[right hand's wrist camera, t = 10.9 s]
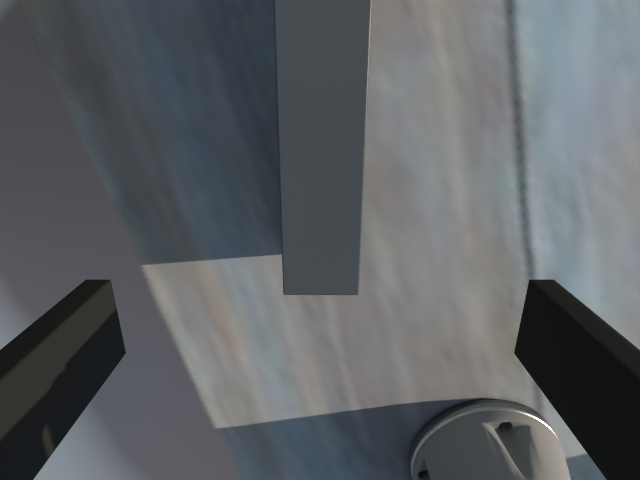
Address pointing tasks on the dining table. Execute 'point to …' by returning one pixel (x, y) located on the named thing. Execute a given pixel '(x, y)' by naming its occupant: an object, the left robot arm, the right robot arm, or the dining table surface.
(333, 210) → the beam
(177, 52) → the dining table surface
